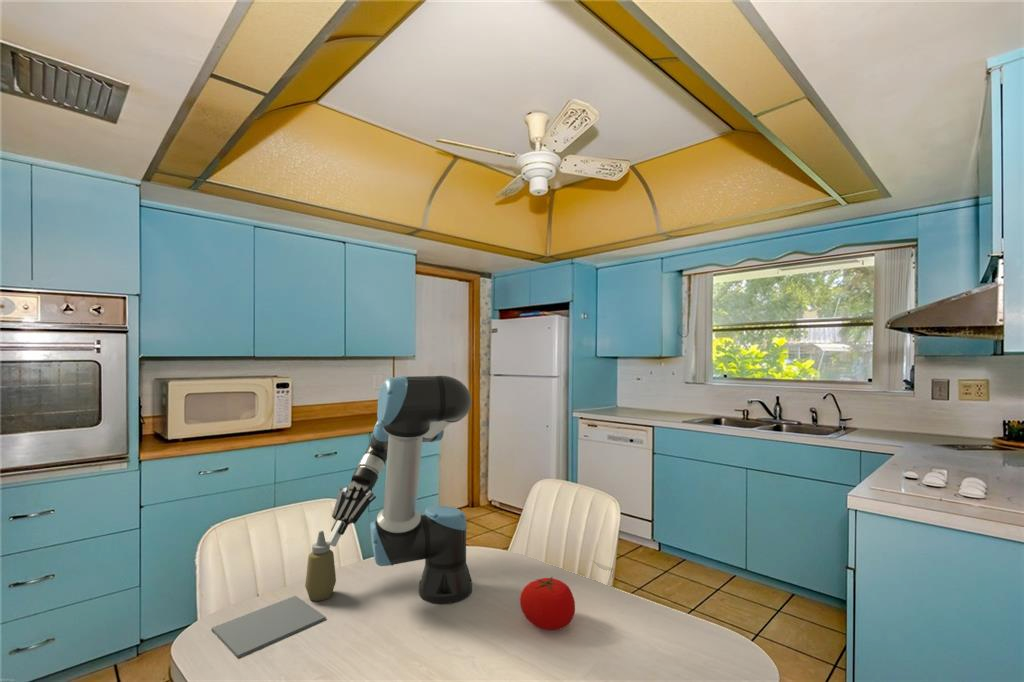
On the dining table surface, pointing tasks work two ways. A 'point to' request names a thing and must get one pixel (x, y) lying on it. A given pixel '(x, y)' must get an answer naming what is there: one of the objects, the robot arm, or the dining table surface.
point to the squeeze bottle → (320, 570)
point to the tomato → (548, 603)
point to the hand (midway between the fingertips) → (331, 544)
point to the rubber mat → (266, 625)
